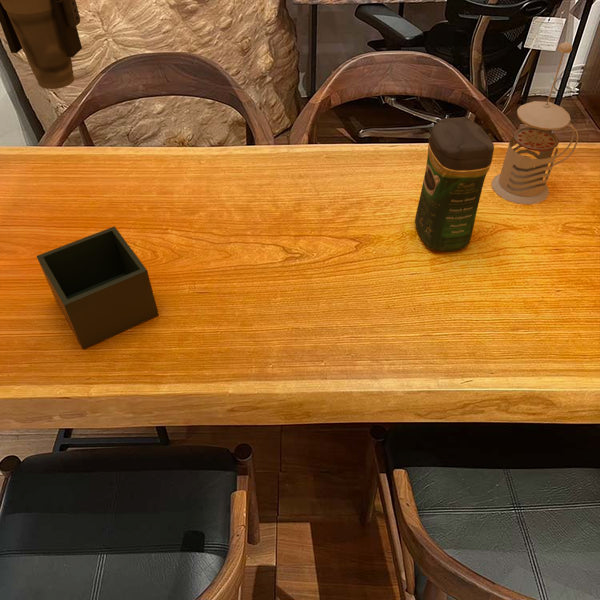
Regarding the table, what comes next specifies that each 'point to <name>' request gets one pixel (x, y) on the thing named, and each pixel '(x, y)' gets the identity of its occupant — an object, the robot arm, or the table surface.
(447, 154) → the coffee jar
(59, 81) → the beverage cup
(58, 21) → the robot arm
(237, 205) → the table surface
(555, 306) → the table surface
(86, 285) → the bin
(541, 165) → the french press
